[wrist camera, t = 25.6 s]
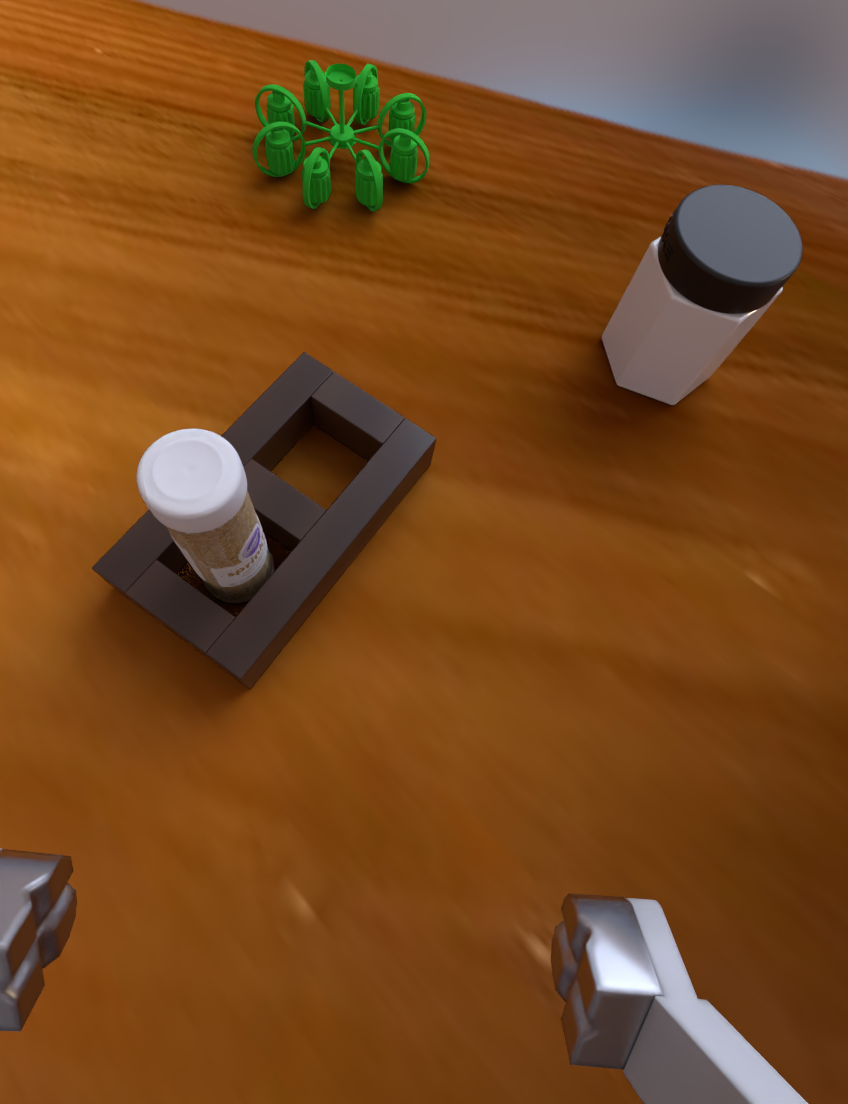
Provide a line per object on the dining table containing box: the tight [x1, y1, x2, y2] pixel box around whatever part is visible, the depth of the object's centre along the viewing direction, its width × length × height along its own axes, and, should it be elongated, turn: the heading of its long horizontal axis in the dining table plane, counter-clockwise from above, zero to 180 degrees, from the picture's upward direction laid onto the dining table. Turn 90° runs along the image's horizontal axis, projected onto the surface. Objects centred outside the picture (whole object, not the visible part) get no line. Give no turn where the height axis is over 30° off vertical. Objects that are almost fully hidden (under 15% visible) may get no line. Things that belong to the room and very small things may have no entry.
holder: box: [92, 352, 436, 689], centre depth 41 cm, size 11×19×4 cm, turn 146°
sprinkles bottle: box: [137, 429, 274, 603], centre depth 35 cm, size 5×5×14 cm
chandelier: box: [253, 60, 430, 211], centre depth 51 cm, size 15×15×7 cm
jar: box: [601, 185, 802, 405], centre depth 45 cm, size 9×8×12 cm
